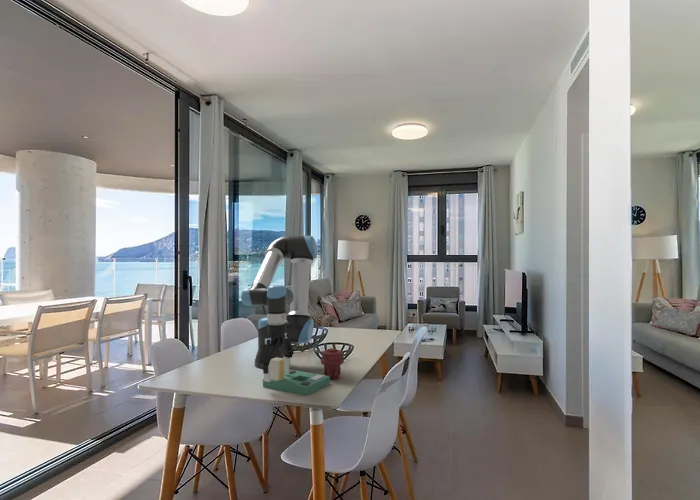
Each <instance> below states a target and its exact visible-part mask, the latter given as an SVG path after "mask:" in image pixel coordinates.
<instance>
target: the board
mask: <svg viewBox="0 0 700 500" xmlns="http://www.w3.org/2000/svg"><path fill="white" fill-rule="evenodd" d="M330 381H331V379H330V376H326V375H324V374H319V373H312V372H306V371H301V370H295V369H290V373H289V374H286V373H285V378H284V379H282V380H280V381H274V380H271V382H266V381H264V378H262V387H264V388H269V389H273V390H278V391H282V392H287V393H288V392H289V393H293V394H299V395H303V396H309V395H311V394H313V393H315V392H317V391H318V390H320V389H322V388H324V387H326V386H327V385H329V384H331V383H330Z"/></svg>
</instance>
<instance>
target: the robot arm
mask: <svg viewBox="0 0 700 500" xmlns="http://www.w3.org/2000/svg"><path fill="white" fill-rule="evenodd" d="M317 247H318V246H317V242H316V240H315V237H314V236H312V235H283V236H280V237H277V238H276V239H275V240H274V241H272V242H271V243H270V244H269V245H268V247H266V250H265V252H264V258H263V261H262V263H261V265H260V267H259V269H258V271H257V273H256V276H255V277H254V280H253V282H252V284H251V286H250V287H247V288H244V289H242V291H241V293H240V294H241V295H240V298H241V299H240V300H241V303H242V304H243V305H244V306H250V307H251V306H252V307H253V306H254V307H258V306H262V307H263V306H267V316H266V317H262V318H260V319H259V320H258V323H257V326H258V327H257V343H258V344H257V347H258V348H257V352H256V355H255V359H254V367H256V368H258V369H263V370H262V371H263V379H264V381H266V382H271V365H269V363H270V360H271V359H273V358H276V357H277V358H284V359H285V373H286V374H289V373H290V370H291V369H290V368H291V367H290V365H291V358H293V355H294V349H293V346H292V344H298V345H301V344H308V343H309V342H310V341H311V339H312V336H313V333H314V327H315V326H314V324H315V322H314V319H312V318H311V315H310V313H309V311H308V310H309V291H310V270H311V265H313V263H314V260H315V259H317V257H318V248H317ZM284 259H290V261H289V262H291V263H292V275H291V276H292V277H291V288H290V287H286V286H285V285H283V284H280V285H279V284H275V285H271V283H272V282H273V279H274V277H275V274H276V273H277V272H276V271H277V269H278V267H279V265H280V263H281V262H283V260H284ZM289 305H290V306H289ZM287 306H289V307H290V309H289V312H288V313H287Z"/></svg>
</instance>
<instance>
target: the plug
mask: <svg viewBox="0 0 700 500" xmlns="http://www.w3.org/2000/svg"><path fill="white" fill-rule="evenodd" d="M269 365H271V380H274V381H280V380H282V379H284V378H285V359H284V358H277V357H276V358H273V359H271V360H270V363H269Z"/></svg>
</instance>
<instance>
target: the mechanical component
mask: <svg viewBox="0 0 700 500" xmlns="http://www.w3.org/2000/svg"><path fill="white" fill-rule="evenodd" d="M320 363H321V365H323V367H324V368H323V370H324V371H323V373H324V374H323V375H326V376H330V380H340V375H341V365H342V364H344V363H345V359H344V358H343V352H342V350H340V349H337V348H332V347H331V348H328V349H326V350H323V351H322V357H321V358H320Z"/></svg>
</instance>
